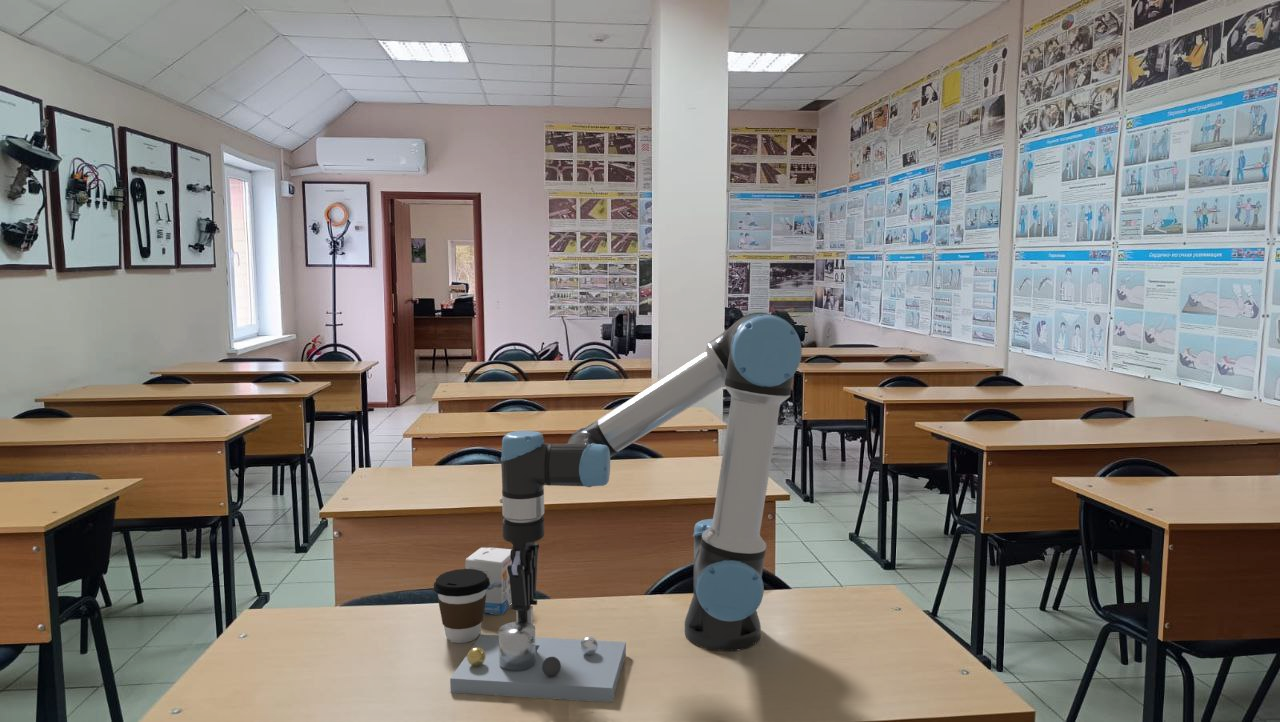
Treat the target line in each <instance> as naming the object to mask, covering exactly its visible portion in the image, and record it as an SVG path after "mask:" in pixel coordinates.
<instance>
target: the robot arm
mask: <svg viewBox="0 0 1280 722" xmlns="http://www.w3.org/2000/svg"><path fill="white" fill-rule="evenodd" d="M802 352H803V351H802V343H801V339H800V337H799V335H798V333H797V331H796V330H795V328H794V326H792V324H791V323H789V322H788V321H787V320H786V319H784V318H782V317H780V316H778V315H773V314H771V313H767V312H753V313H748V314H746V315H744V316H742V317H741V318H739V319H738V320H737V321H735V322H734V323H733V324H732V325H731V326H730V327H729V328H727V329H726V330H725V331H723V332H722V333H721V334H719V335H718V336H716V337H715V338H714V339H713V340H710V341H709V342H707V345H706V349H705V351H703V352H702V353H700V354H698V355H697V356H695V357H693V358H692V359H691V360H689V361H688V362H686V363H684V364H683V365H682V366H680V367H678V368H676V369H675V370H673V371H672V372H670V373H669V374H667V375H665V376H664V377H662V378H661V379H659V380H658V381H656V382H655V383H653V384H652V385H650V386H649V387H647V388H645V389H644V390H642V391H641V392H639V393H638V394H636V395H634V396H633V397H631V398H630V399H628V400H625V402H623V403H622V404H620V405H619V406H617V407H615V408H614V409H612V410H611V411H609V412H607V413H606V414H604V415H603V416H601V417H599V418H598V419H597V420H595V421H593V422H592V423H591V424H588V426H587V425H586V426H585V427H581V428H580V429H578V430H576V431H575V432H574V433H572V434H571V436H570V437H569V439H568V441H567V443H548V442H546V443H545V440H544V435H543V433H542V432H539V431H536V430H535V431H534V430H533V431H532V430H516V431H511V432H508V433H506V434H505V435H504V436H503V437H502V440H501V457H500V463H501V488H502V491H501V493H502V496H501V497H500V499H499V503H500V504H502V517H504V518H503V519H502V538H503V540H504V541H506V542H509V543H511V544H512V550H511V553H510V557H511V560H512V564H508V567H507V570H508V574H509V578H510V589H511V599H512V604H511V606H510V608H511V610H512V611H516V613H515V614H516V615H515V616H516V617H515V619H516V621H515V622H528V623H531V624H533V625H534V610H533V609H534V608H533V607H534V606H538V605H537V604H538V600H537V599H534V598H536V595H537V577H538V575H537V574H538V559H539V558H538V557H539V556H538V555H539V549H540V543H536V542H538V541H540V540H542V539H543V538H544V537H545V518H544V517H543V515H544V514H545V489H544V488H545V487H544V486H548V487H549V486H550V487H551V486H552V487H553V486H556V487H557V486H559V487H560V486H562V487H586V488H592V487H603V486H606V485H608V483H609V481H610V475H611V458H612V457H613V456H615V455H616V454H617V453H619V452H620V451H622V450H623V449H625V448H627V447H628V446H630V445H632V444H633V443H635V442H636V441H638V440H639V439H641V438H643V437H644V436H647V434H649V433H651V432H652V431H654V430H655V429H657V428H659V427H660V426H662V425H664V424H666V423H667V422H668V421H670V420H672V419H673V418H675V417H676V416H678V415H679V414H681V413H682V412H684V411H686V410H687V409H689V408H691V407H693V406H694V405H695V404H697V403H699V402H700V401H702V400H703V399H705V398H707V397H709V396H710V395H711V394H713V393H715V392H717V391H718V390H719V389H721V388H723V387H724V388H725V390H726V391H727V392H728V394H729V395H730V397H731V398H730V405H729V411H728V419H727V424H726V430H725V431H726V432H725V438H724V444H723V445H724V446H723V450H722V456H721V457H722V458H721V465H720V470H719V478H718V482H717V483H718V485H717V489H716V490H717V492H716V498H715V505H714V510H713V515H712V518H708V519H707V518H706V519H702V520H700V521H698V522H696V523H695V525H694V528H693V529H694V530H693V534H692V537H693V596H692V598H691V601H690V604H689V607H688V610H687V613H686V616H685V619H684V636H685V637H686V639H687V640H688V641H689V642H691V643H692V644H695V645H696V646H699V647H701V648H704V649H709V650H713V651H714V650H715V651H723V652H724V651H725V652H726V651H737V650H739V651H740V650H743V649H748V648H750V647H752V646H754V645H755V644H757V643H758V642H759V641H760V640H761V637H762V636H761V634H762V632H761V629H762V628H761V627H762V626H761V621H760V618H759V615H758V611H757V610H758V609H759V608H760V605H761V604H762V601H763V598H764V592H765V588H764V581H763V578H762V577H763V570H764V563H765V558H766V553H767V552H766V551H767V543H766V542H765V541H764V539H763V538H762V537H761V535H760V534H761V527H762V522H763V521H762V520H763V515H764V509H765V502H766V495H767V490H768V485H769V484H768V482H769V477H770V470H771V464H772V458H773V453H774V452H773V451H774V444H775V439H776V432H777V427H778V420H779V415H780V414H779V413H780V407H781V404H782V403H783V402H786V400H788V399H789V398H790V397H791V393H792V387H793V383H794V382H793V381H794V377H795V375H794V374H795V373H796V372H797V370H798V368H799V366H800V364H801V360H802V355H803V354H802Z"/></svg>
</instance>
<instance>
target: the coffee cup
mask: <svg viewBox="0 0 1280 722" xmlns="http://www.w3.org/2000/svg"><path fill="white" fill-rule="evenodd" d="M489 585H490V580H489V578H488V577H487V574H486V573H484V572H483V571H480V570H476V569H466V568H461V569H460V568H459V569H454V570H449V571H446V572H443V573H441V574H440V575H438V577H436V578H435V582H434V583H433V591H434V592H435V593H436V594H437V602H438V606H439V611H440V617H441V622H442V625H443V627H444V632H445V636H446V639H447V640H448V639H449V640H450V642H451V641H452V642H451V643H454V642H455V643H456V644H464V643H465V644H466V643H469V642H473V641H474V640H477V639H478V637H480V636H479V635H481V634H480V633H481V628H482V621H483V620H484V614H485V613H484V608H485V601H486V589H487V588H488V587H489ZM449 640H448V641H449ZM455 643H454V644H455Z"/></svg>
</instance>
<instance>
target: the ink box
mask: <svg viewBox="0 0 1280 722" xmlns="http://www.w3.org/2000/svg"><path fill="white" fill-rule="evenodd" d="M511 550H513V548H511V549H509V548H501V547H480V548H479V549H477V550H476V551H474V552H473V553H472V554H470V555H469V556H468V557H466V558H465V560H464V561H465V562H464V563H465V569H476V570H480V571H483V572H484V573H486V574H487V577H488V578H489V580H490V585H489V587H488V588H487V589H486V601H485V608H484V614H485V613H492V614H491V615H496V614H503V613H504V614H505V612H506V611H508V609H509V608H510V607H511V606H510V604H511V603H512V599H511V589H510V578H509V574H508V570H507V567H508V564H512V560H511V557H510V553H511ZM511 605H512V604H511ZM509 606H510V607H509ZM508 607H509V608H508ZM507 608H508V609H507ZM504 614H503V615H504Z"/></svg>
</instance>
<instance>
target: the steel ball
mask: <svg viewBox="0 0 1280 722" xmlns="http://www.w3.org/2000/svg"><path fill="white" fill-rule="evenodd" d="M581 640H582V641H581V644H580V648H581V651H582V652H583V653H584V654H586V655H592V654H594V653H595V652H596V650H597V648H598V643H597V641H598V640H597V639H596V638H595V637H594V636H592V635H591V636H590V635H589V636H585V637H583V639H581ZM596 640H597V641H596Z"/></svg>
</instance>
